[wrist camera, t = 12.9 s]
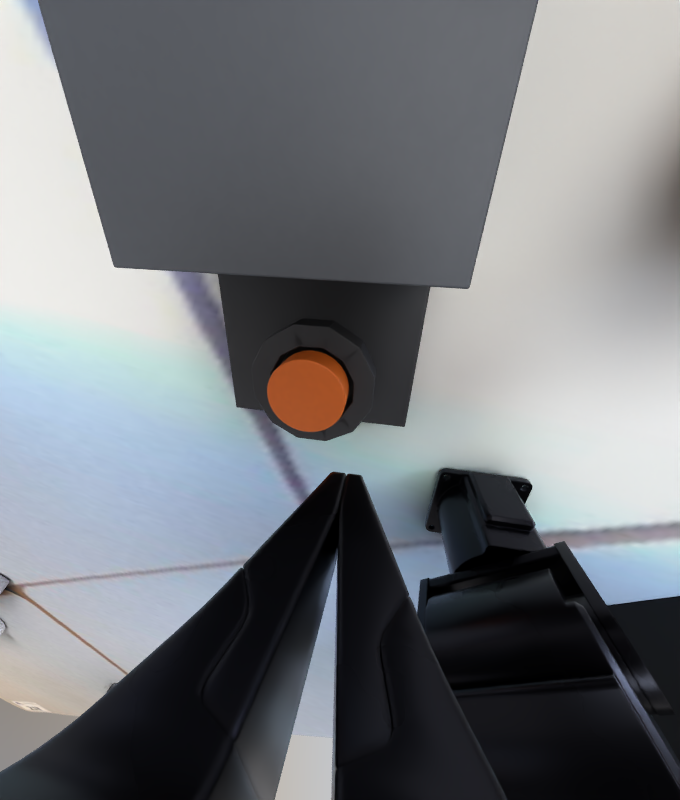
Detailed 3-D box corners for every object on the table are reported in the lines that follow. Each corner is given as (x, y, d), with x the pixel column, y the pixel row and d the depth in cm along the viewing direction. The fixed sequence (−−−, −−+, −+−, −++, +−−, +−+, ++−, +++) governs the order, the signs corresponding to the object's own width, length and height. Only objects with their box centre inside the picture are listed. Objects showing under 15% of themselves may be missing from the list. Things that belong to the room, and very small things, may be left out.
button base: (402, 426, 20) (405, 451, 17) (244, 407, 21) (224, 428, 18) (428, 280, 15) (437, 284, 13) (227, 269, 17) (197, 270, 14)
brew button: (346, 421, 17) (343, 436, 16) (279, 413, 18) (269, 427, 16) (351, 353, 15) (347, 363, 14) (275, 346, 16) (263, 355, 14)
